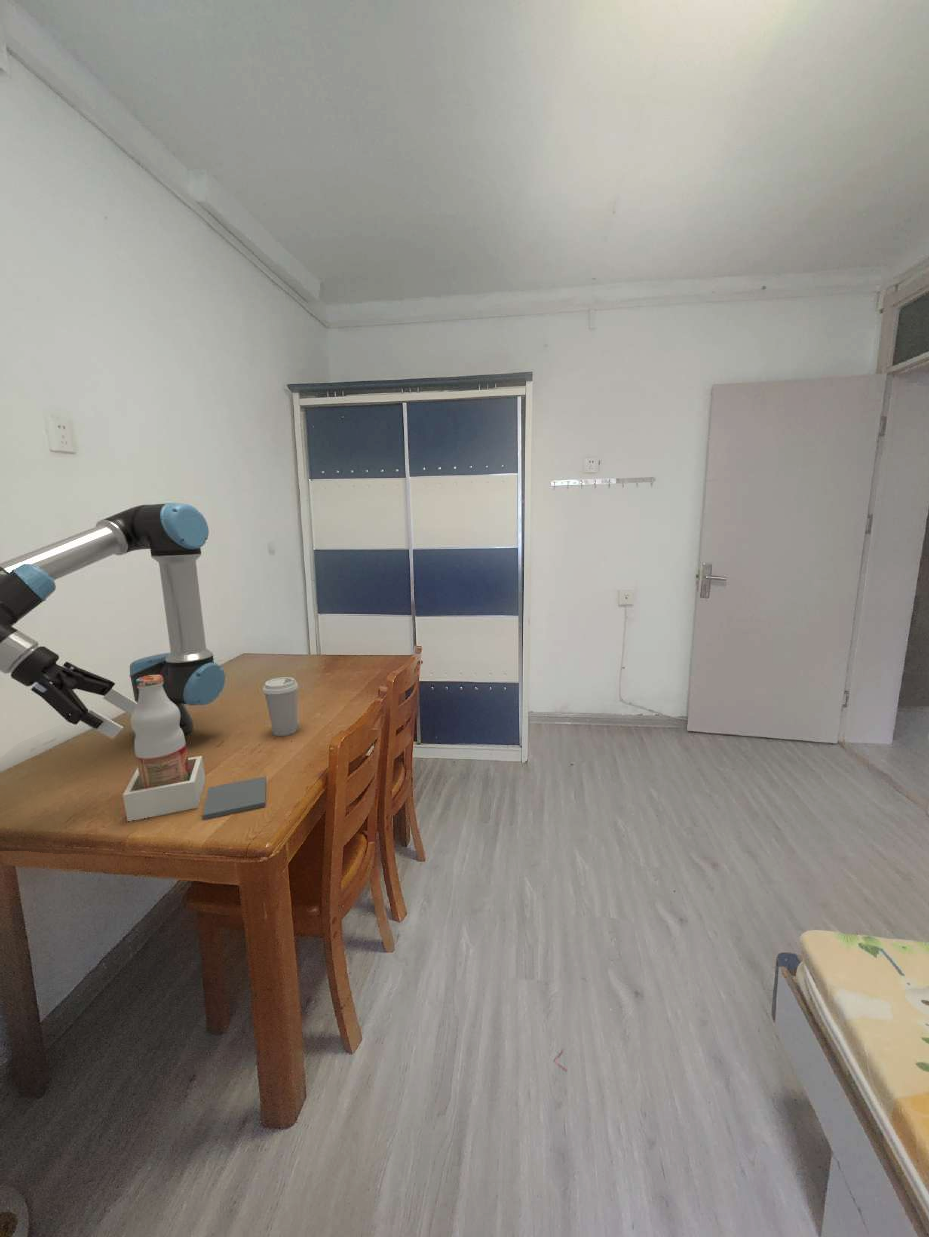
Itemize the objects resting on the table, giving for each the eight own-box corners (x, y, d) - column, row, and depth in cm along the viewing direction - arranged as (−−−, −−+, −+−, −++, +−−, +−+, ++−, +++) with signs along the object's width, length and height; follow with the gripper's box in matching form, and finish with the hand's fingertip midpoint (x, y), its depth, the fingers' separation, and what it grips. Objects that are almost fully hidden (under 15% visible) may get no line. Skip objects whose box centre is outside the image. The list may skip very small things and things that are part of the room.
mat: (209, 791, 116) (208, 787, 116) (266, 780, 120) (265, 776, 120) (202, 819, 105) (202, 815, 105) (265, 806, 109) (265, 802, 109)
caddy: (142, 791, 117) (138, 766, 116) (205, 779, 121) (201, 755, 120) (127, 821, 105) (122, 795, 104) (198, 807, 109) (194, 781, 108)
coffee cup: (292, 739, 142) (286, 687, 139) (260, 737, 144) (254, 686, 141) (308, 725, 151) (303, 676, 148) (279, 724, 153) (274, 675, 150)
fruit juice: (134, 805, 111) (112, 682, 105) (175, 784, 119) (156, 669, 114) (163, 815, 107) (141, 687, 101) (202, 792, 115) (184, 673, 110)
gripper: (38, 658, 110) (130, 714, 118) (-25, 695, 87) (94, 760, 95) (63, 632, 111) (153, 688, 119) (7, 661, 88) (123, 729, 95)
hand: (127, 720), depth 107 cm, fingers open, 13 cm apart
